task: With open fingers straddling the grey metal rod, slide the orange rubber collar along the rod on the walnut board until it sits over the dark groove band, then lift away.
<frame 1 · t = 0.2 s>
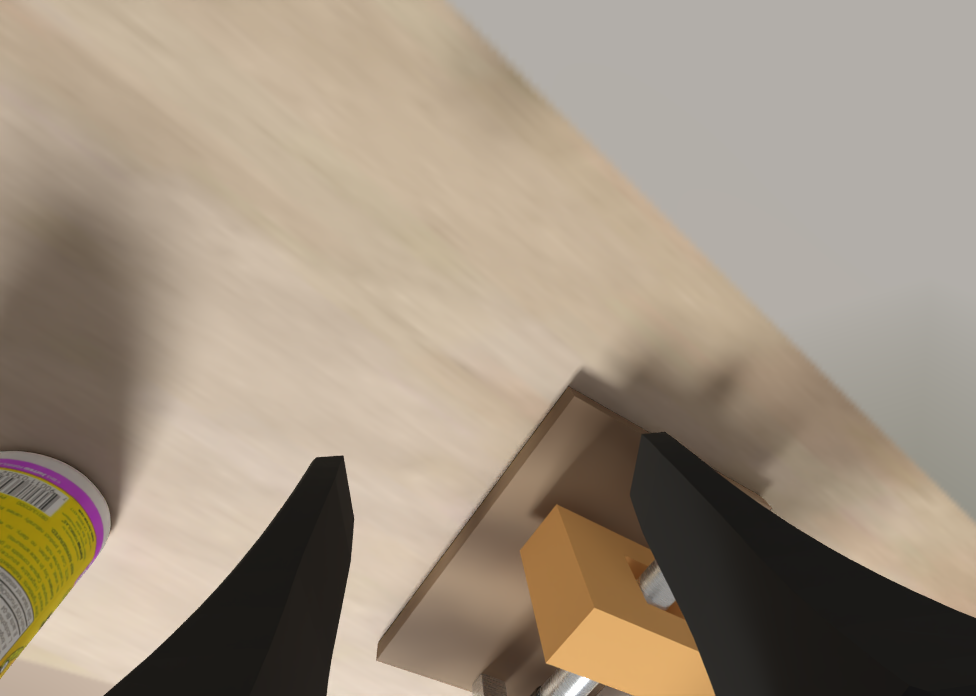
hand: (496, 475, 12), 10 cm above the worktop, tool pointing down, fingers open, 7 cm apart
collar: (635, 611, 22), point 5 cm above the worktop, slide at 0.0 cm
walnut board: (566, 570, 27), on the worktop
supplement bottle: (40, 505, 23), on the worktop
metal rod: (585, 626, 24), on the walnut board, point 3 cm above the worktop
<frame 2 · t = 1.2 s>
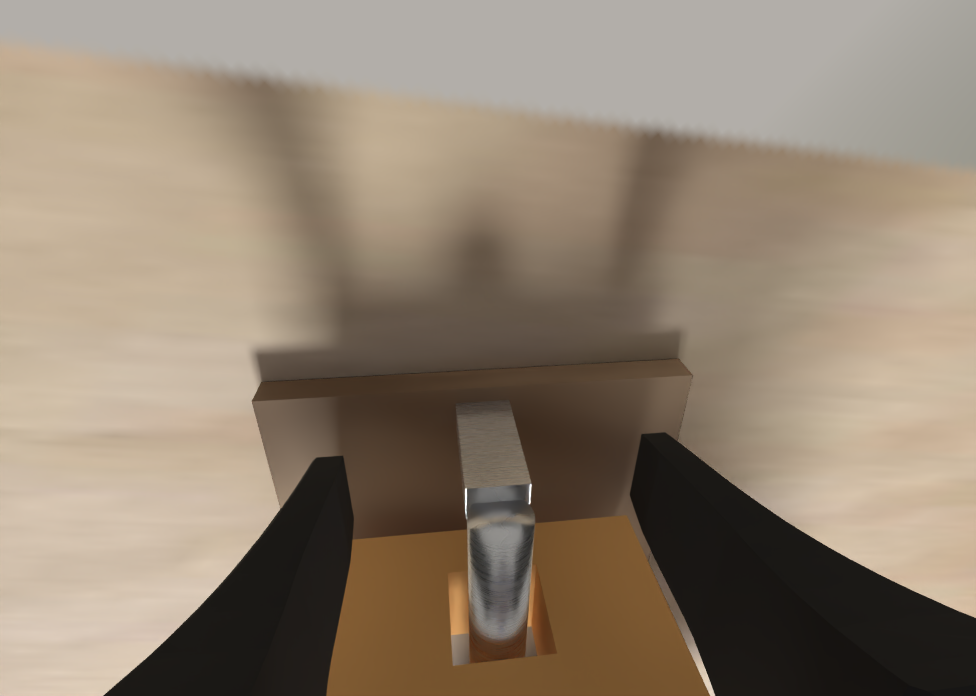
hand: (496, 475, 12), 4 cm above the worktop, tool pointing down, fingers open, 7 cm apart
collar: (497, 643, 14), point 5 cm above the worktop, slide at 0.0 cm
walnut board: (479, 563, 20), on the worktop
metal rod: (489, 650, 17), on the walnut board, point 3 cm above the worktop
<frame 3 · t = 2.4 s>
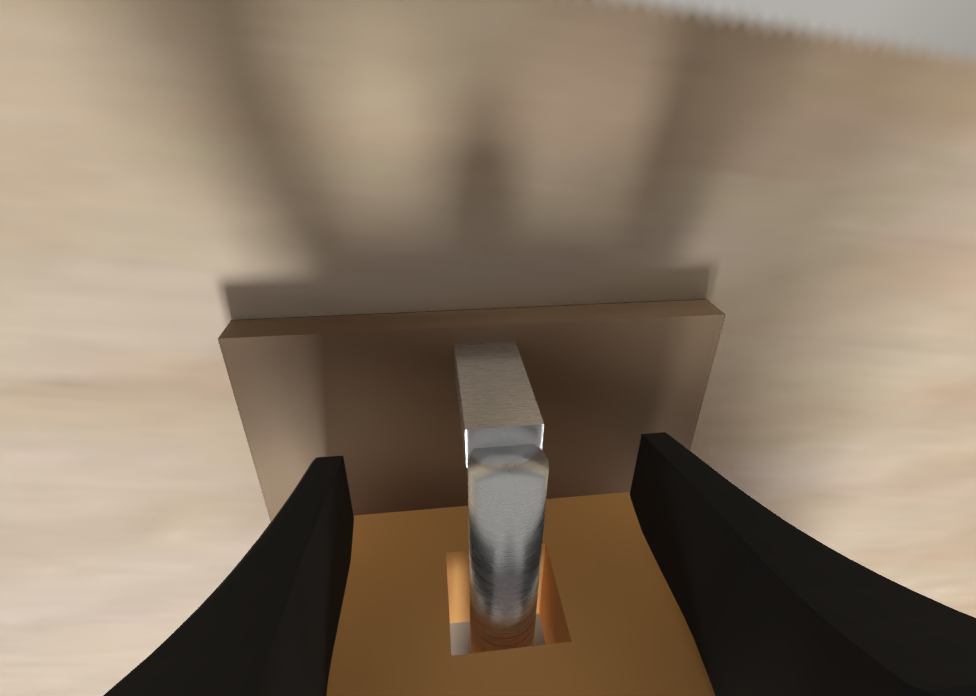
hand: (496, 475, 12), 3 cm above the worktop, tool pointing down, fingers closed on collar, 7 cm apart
collar: (502, 631, 13), point 5 cm above the worktop, slide at 0.6 cm, touching gripper
walnut board: (480, 536, 18), on the worktop
metal rod: (493, 629, 15), on the walnut board, point 3 cm above the worktop
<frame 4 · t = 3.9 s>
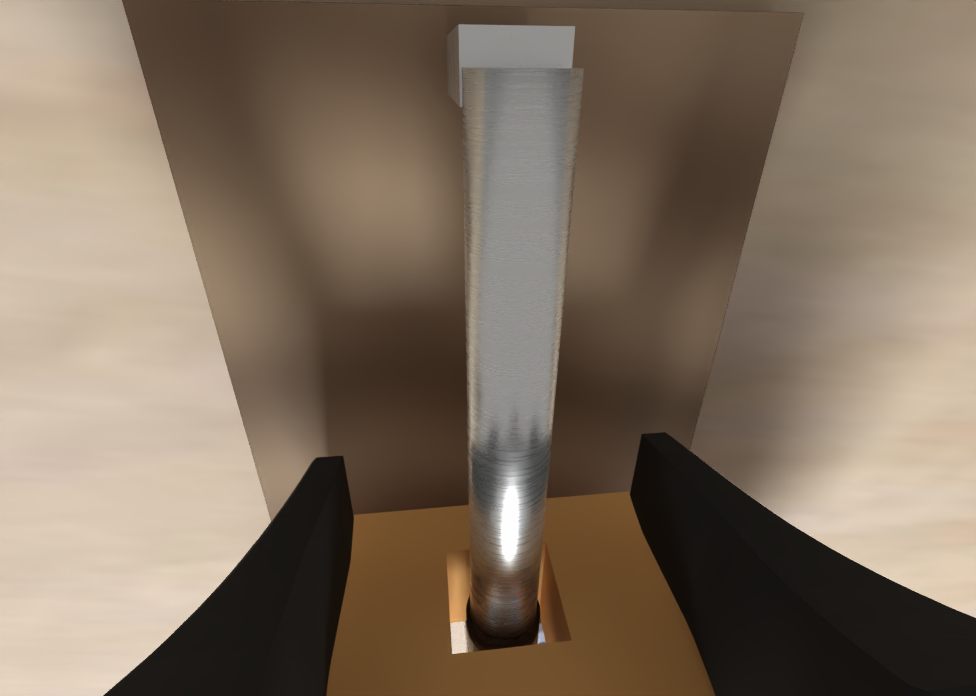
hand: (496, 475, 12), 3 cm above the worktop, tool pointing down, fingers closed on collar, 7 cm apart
collar: (502, 630, 13), point 5 cm above the worktop, slide at 7.4 cm, touching gripper
walnut board: (481, 377, 15), on the worktop
metal rod: (496, 455, 12), on the walnut board, point 3 cm above the worktop
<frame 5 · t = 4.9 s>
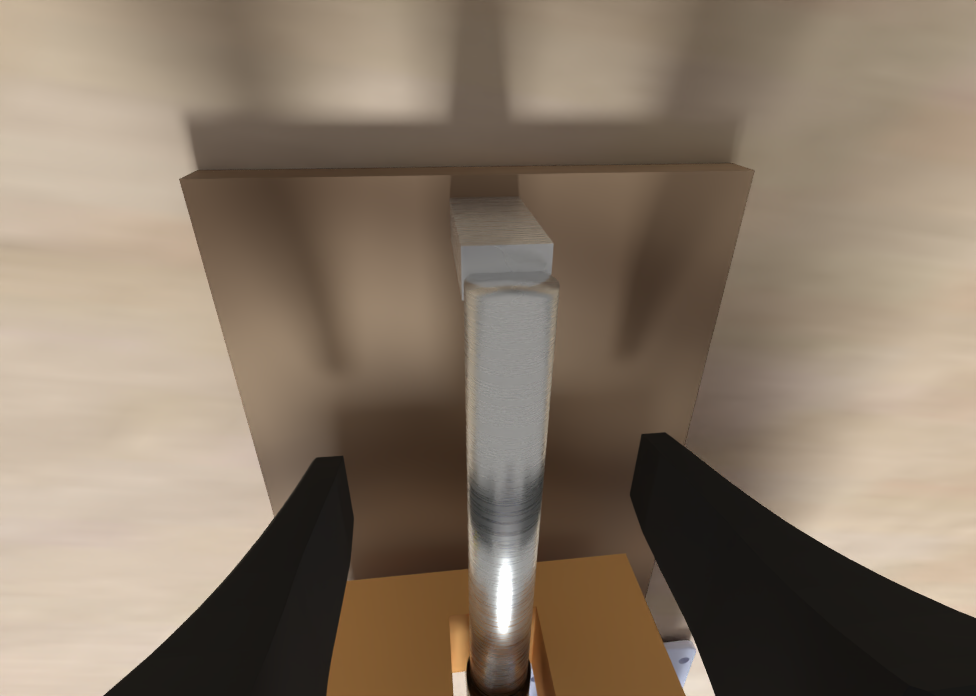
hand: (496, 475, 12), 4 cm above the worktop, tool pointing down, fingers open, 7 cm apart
collar: (498, 685, 15), point 5 cm above the worktop, slide at 7.4 cm
walnut board: (479, 452, 17), on the worktop
metal rod: (493, 537, 14), on the walnut board, point 3 cm above the worktop
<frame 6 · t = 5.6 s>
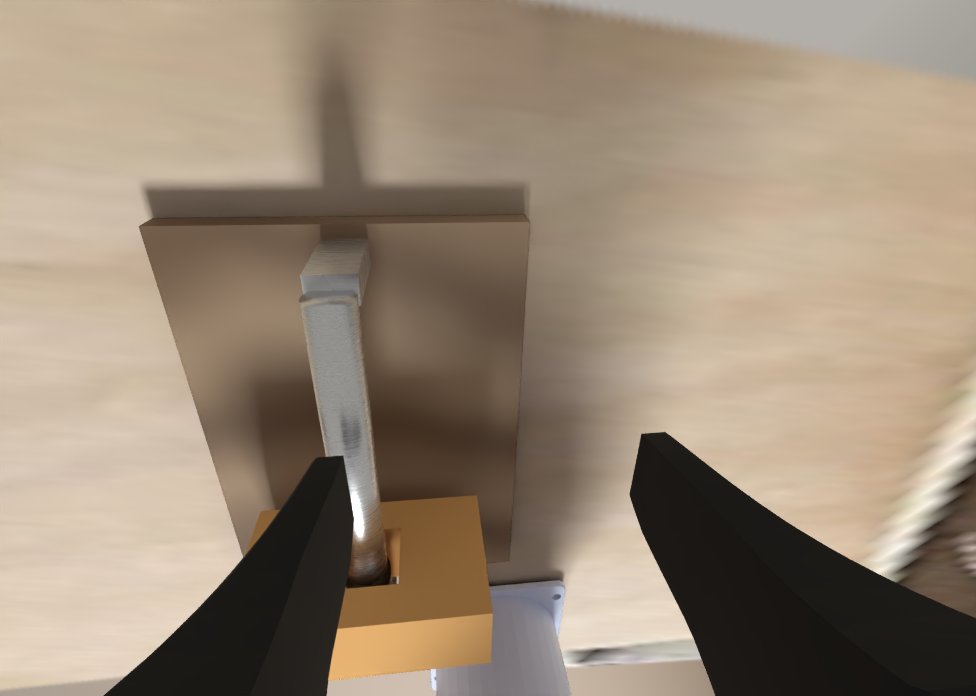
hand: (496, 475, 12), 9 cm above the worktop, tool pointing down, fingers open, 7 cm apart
collar: (369, 582, 20), point 5 cm above the worktop, slide at 7.4 cm
walnut board: (369, 419, 23), on the worktop
metal rod: (362, 473, 20), on the walnut board, point 3 cm above the worktop
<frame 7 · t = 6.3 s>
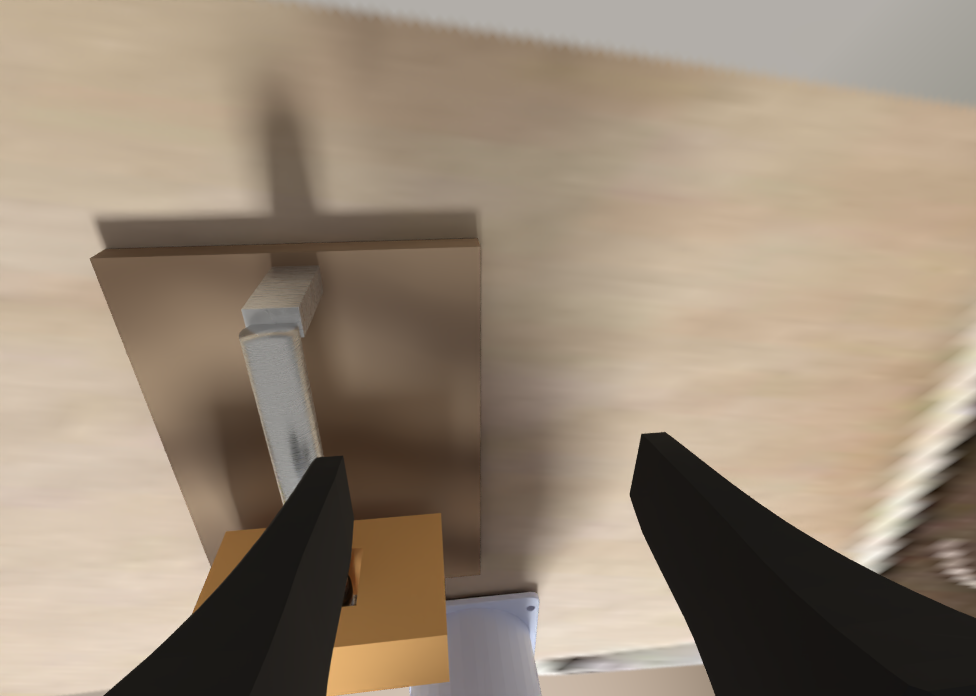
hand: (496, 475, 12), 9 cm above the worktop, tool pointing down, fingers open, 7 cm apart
collar: (331, 602, 21), point 5 cm above the worktop, slide at 7.4 cm
walnut board: (333, 438, 23), on the worktop
metal rod: (321, 495, 20), on the walnut board, point 3 cm above the worktop
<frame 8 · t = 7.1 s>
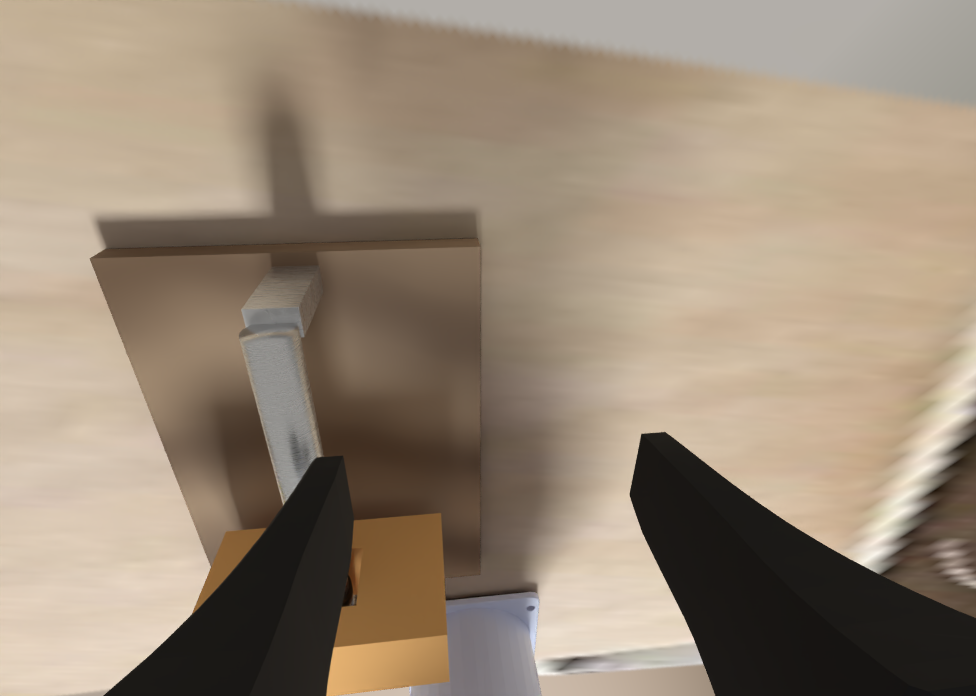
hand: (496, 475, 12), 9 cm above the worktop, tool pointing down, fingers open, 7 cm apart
collar: (331, 602, 21), point 5 cm above the worktop, slide at 7.4 cm
walnut board: (333, 438, 23), on the worktop
metal rod: (321, 495, 20), on the walnut board, point 3 cm above the worktop
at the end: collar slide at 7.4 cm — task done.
